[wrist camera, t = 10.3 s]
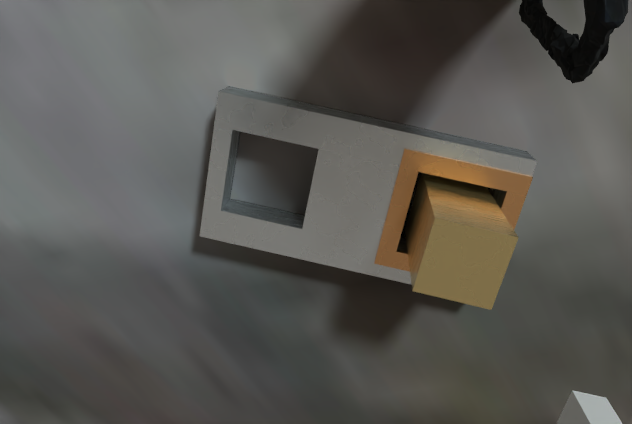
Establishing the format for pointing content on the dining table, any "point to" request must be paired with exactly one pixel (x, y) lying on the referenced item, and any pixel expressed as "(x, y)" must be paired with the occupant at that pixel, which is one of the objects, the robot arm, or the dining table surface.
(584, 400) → the robot arm
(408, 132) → the grey shape sorter board
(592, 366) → the dining table surface
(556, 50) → the moka pot
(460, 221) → the tan rectangular block
